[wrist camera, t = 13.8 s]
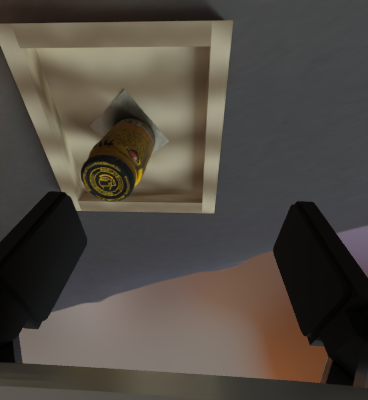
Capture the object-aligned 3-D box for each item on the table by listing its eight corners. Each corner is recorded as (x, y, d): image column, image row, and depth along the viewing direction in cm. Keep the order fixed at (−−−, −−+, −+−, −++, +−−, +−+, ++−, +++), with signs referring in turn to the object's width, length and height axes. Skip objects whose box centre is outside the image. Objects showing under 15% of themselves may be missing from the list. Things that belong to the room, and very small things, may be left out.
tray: (15, 26, 24) (-9, 23, 21) (228, 23, 23) (233, 20, 20) (78, 198, 38) (69, 210, 35) (212, 200, 37) (214, 213, 34)
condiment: (134, 168, 33) (110, 219, 24) (90, 125, 30) (39, 164, 20) (169, 140, 30) (158, 185, 21) (125, 89, 27) (86, 114, 17)
